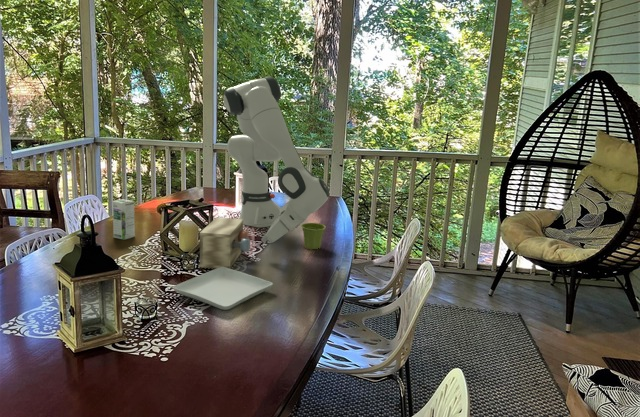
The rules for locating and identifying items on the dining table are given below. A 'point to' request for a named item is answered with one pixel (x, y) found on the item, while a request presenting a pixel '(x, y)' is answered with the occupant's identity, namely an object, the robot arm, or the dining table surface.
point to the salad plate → (223, 287)
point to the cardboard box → (220, 243)
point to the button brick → (243, 235)
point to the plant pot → (313, 235)
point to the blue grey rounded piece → (242, 245)
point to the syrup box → (123, 219)
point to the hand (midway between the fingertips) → (263, 240)
